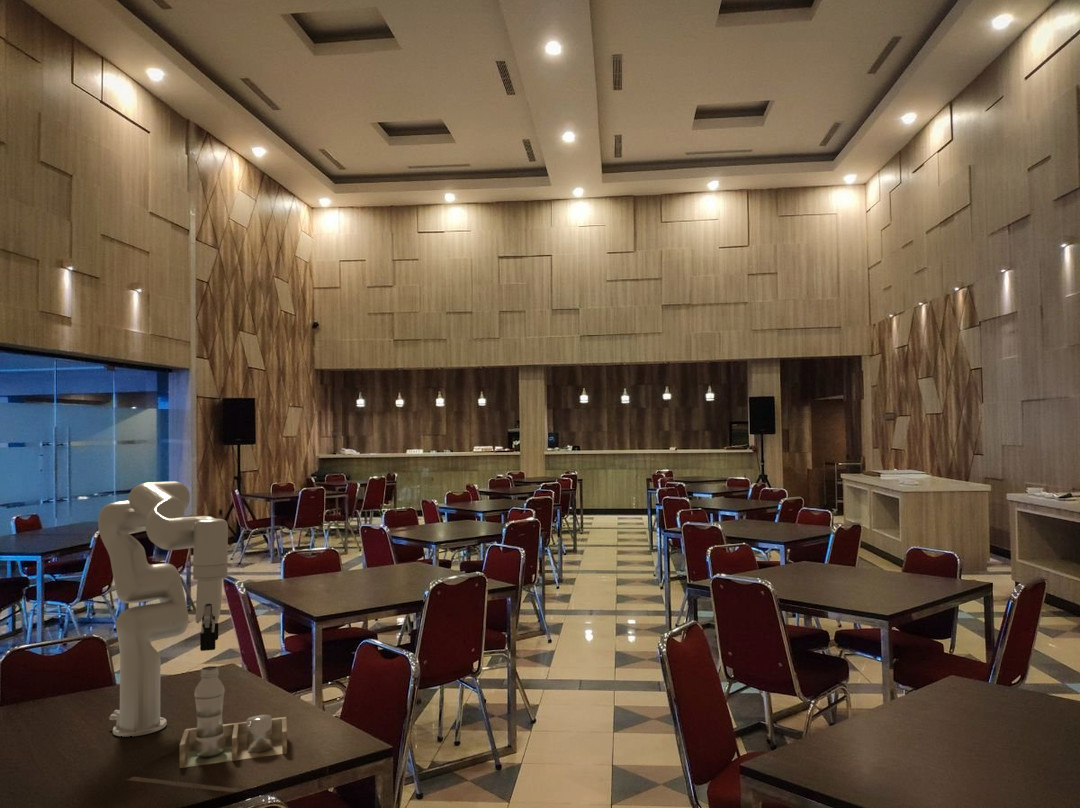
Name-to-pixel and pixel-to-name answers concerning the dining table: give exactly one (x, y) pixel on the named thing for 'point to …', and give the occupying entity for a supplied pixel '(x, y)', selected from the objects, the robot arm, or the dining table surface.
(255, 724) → the grey short cylinder
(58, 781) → the dining table surface
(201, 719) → the plastic bottle
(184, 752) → the divider rack
